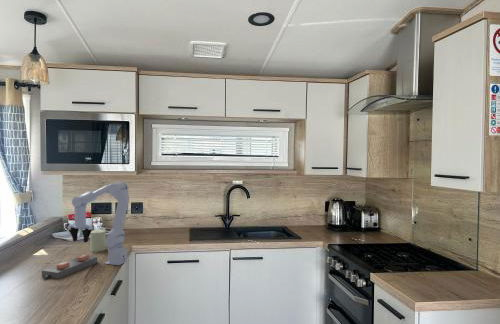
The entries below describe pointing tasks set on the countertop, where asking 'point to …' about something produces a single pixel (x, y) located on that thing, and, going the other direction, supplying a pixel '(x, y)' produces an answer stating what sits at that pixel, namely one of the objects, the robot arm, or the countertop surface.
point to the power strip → (68, 268)
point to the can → (97, 240)
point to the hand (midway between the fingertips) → (80, 241)
